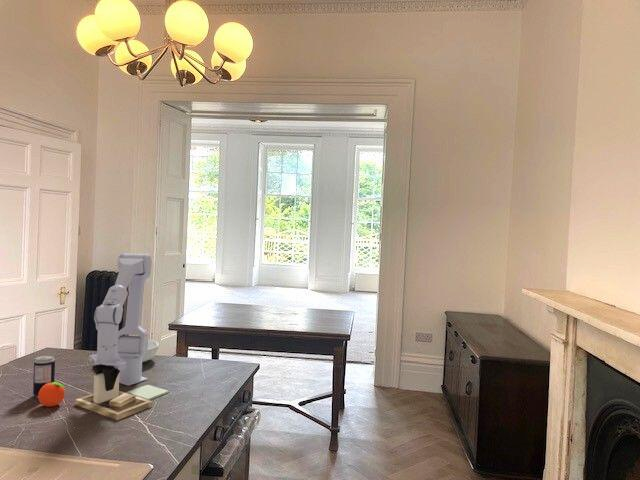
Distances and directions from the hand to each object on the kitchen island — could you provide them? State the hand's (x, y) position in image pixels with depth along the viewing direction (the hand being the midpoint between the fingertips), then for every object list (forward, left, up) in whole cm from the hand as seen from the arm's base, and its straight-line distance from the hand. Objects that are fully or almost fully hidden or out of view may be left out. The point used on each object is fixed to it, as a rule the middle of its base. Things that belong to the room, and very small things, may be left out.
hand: (106, 388), depth 141 cm
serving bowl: (-28, +31, -5) cm, 42 cm away
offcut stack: (+8, 0, -5) cm, 9 cm away
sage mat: (+4, +12, -4) cm, 14 cm away
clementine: (-10, -10, -5) cm, 15 cm away
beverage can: (-20, -7, -4) cm, 22 cm away
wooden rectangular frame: (+4, 0, -4) cm, 6 cm away
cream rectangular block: (0, 0, -3) cm, 3 cm away
